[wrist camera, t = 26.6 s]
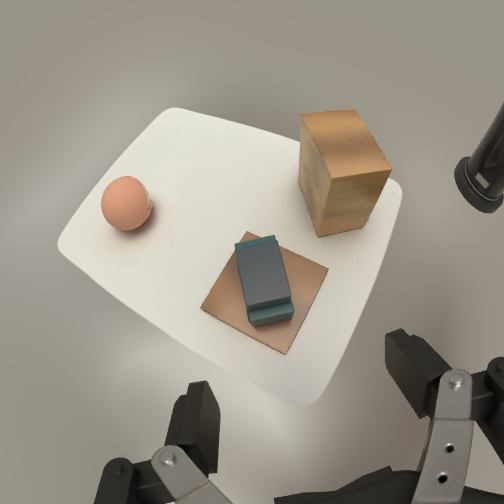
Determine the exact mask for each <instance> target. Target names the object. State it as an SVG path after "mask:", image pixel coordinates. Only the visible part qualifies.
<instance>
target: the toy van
mask: <svg viewBox="0 0 504 504" xmlns="http://www.w3.org/2000/svg"><path fill="white" fill-rule="evenodd" d="M235 253H236V259H237V266H238V271H239V275H240V279H241V284H242V289H243V294H244V299H245V304H246V307H247V309H246V312H247V317H248V321H249V323H251V324H252V325H253V327H258V326H263V325H268V324H272V323H277V322H281V321H285V320H290V319H292V317H293V314H294V307H293V303H292V300H291V296H292V295H291V291H290V287H289V283H288V279H287V275H286V272H285V268H284V264H283V260H282V256H281V252H280V248H279V245H278V241H277V240H276V239H275V235H272V236H267V237H263V238H258V239H253V240H249V241H245V242H240V243H236V244H235Z"/></svg>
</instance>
